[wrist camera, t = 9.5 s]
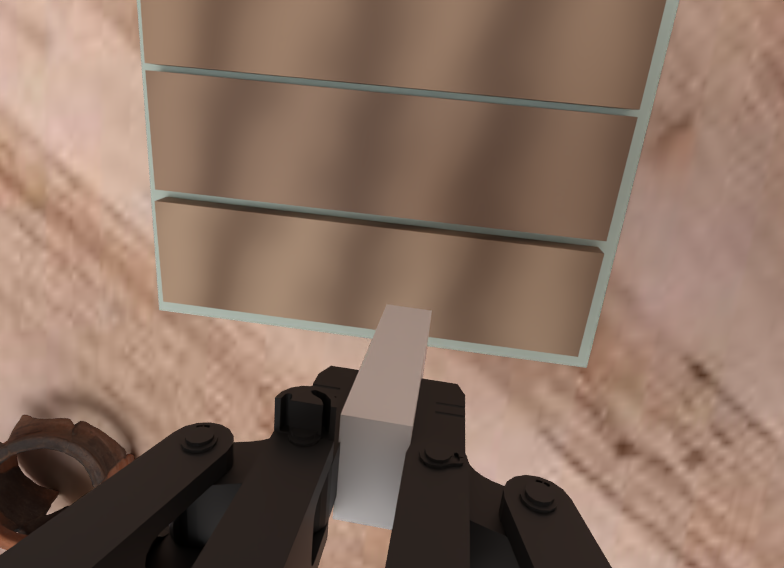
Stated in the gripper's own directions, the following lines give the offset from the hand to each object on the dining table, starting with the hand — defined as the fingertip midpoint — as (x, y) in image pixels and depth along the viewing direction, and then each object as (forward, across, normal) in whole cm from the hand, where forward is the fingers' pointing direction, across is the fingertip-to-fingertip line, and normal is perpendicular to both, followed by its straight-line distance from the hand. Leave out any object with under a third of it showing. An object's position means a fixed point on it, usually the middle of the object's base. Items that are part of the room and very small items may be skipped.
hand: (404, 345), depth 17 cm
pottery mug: (+13, +24, +19) cm, 33 cm away
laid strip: (+12, +3, -11) cm, 17 cm away
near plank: (+12, +3, -5) cm, 13 cm away
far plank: (+12, +3, +1) cm, 12 cm away
